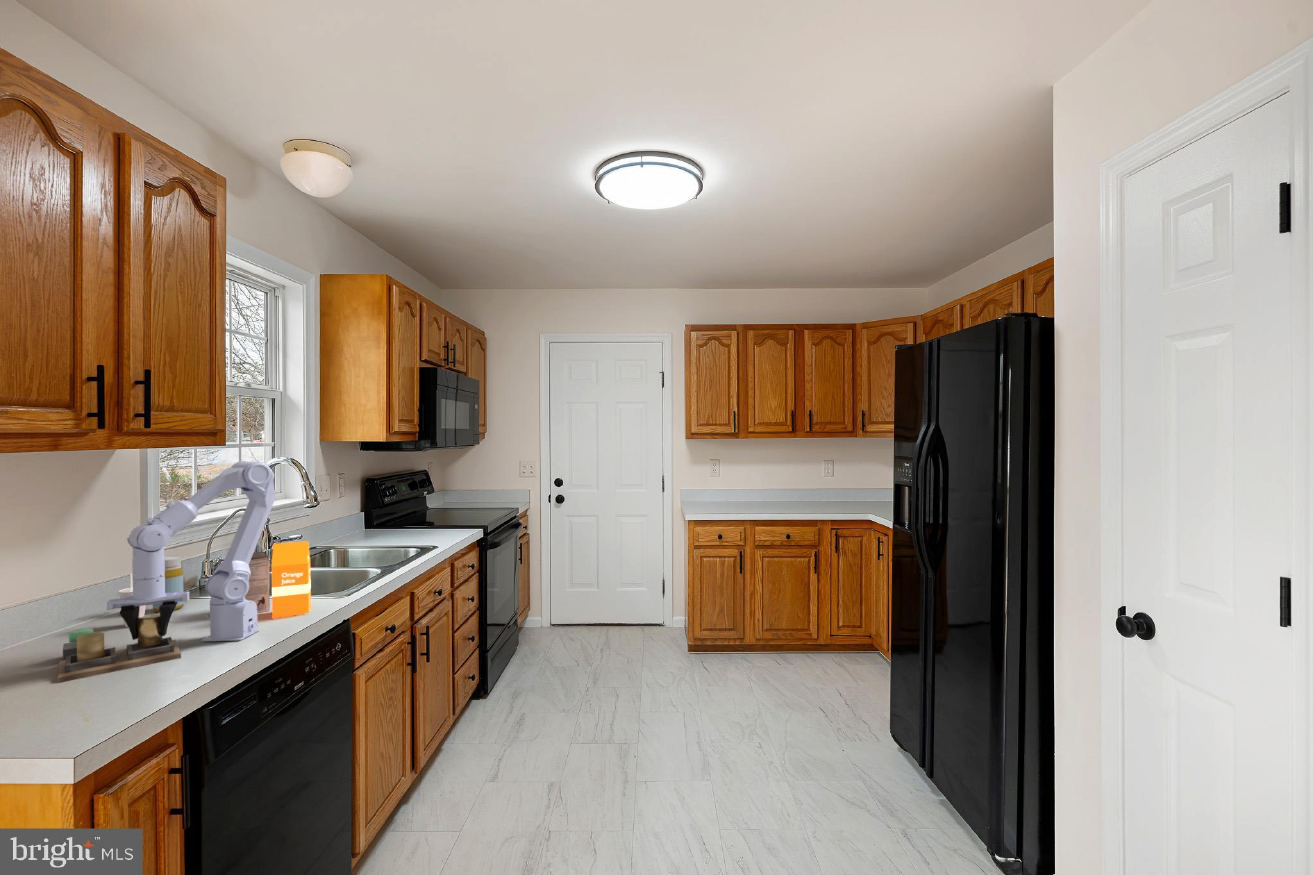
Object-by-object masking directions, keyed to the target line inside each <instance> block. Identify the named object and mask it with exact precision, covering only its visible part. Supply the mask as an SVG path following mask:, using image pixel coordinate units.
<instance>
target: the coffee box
mask: <svg viewBox="0 0 1313 875" xmlns="http://www.w3.org/2000/svg"><path fill="white" fill-rule="evenodd" d="M249 568H250V572H251V575H250V577H249V590H248V593H247V594H246V596H245V599H246V600H249V601H254V602H255V603H256V605H257V614H259V613H260V614H261V613H264V612H265V611H266V612H270V610H271V609H270V604H271V603H270V602H271V601H270V597H271V596H270V555H269V554H266V553H265V552H263V551H254V553H253V555H252V558H251V560H250V562H249Z"/></svg>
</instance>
